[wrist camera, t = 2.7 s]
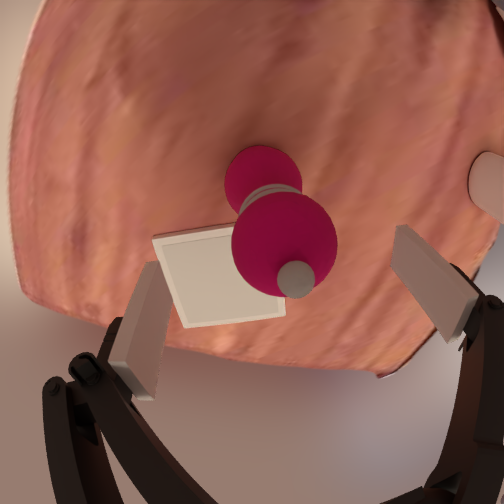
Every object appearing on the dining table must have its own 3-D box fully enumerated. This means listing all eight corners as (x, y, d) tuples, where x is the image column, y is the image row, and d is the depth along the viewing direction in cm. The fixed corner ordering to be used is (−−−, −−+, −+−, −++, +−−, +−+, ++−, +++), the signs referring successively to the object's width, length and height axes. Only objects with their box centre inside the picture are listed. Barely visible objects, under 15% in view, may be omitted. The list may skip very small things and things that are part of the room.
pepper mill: (211, 175, 29) (183, 297, 12) (258, 127, 26) (308, 176, 9) (259, 215, 32) (291, 360, 15) (304, 172, 29) (397, 281, 12)
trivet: (153, 235, 32) (151, 240, 31) (277, 216, 32) (278, 220, 31) (184, 323, 40) (184, 328, 39) (284, 311, 40) (285, 316, 39)
